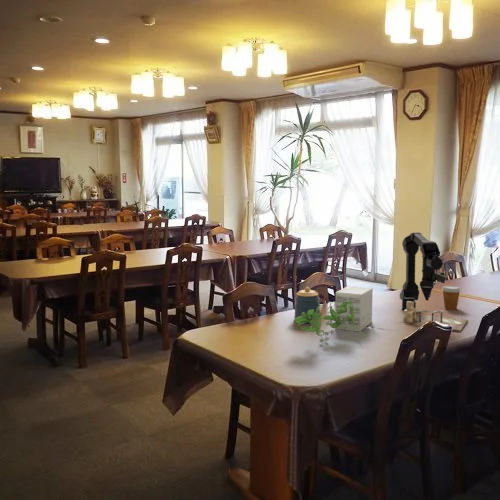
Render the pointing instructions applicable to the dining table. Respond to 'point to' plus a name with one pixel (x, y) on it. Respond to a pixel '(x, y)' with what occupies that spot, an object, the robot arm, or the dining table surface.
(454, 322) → the wire board
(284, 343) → the dining table surface
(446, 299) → the disposable coffee cup
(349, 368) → the dining table surface
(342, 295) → the supplement box
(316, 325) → the plant cuttings
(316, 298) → the canister
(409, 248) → the robot arm
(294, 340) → the dining table surface
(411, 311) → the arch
